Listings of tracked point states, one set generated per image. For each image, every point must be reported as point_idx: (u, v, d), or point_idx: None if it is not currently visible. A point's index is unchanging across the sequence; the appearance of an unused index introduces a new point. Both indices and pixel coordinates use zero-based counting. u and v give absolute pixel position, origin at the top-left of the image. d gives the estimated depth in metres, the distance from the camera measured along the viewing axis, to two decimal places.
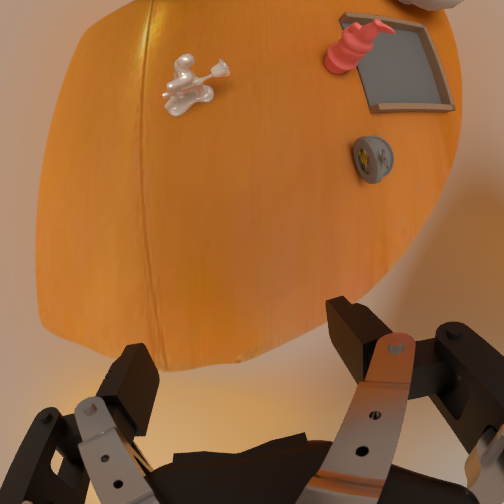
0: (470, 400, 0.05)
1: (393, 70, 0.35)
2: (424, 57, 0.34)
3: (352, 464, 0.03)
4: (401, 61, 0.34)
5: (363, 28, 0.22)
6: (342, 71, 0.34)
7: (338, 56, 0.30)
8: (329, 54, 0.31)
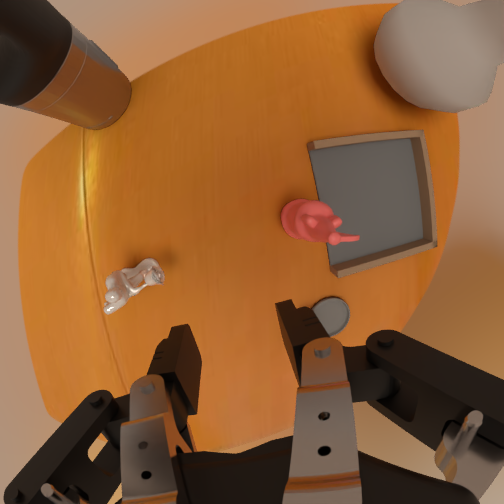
0: (421, 402, 0.05)
1: (368, 209, 0.37)
2: (413, 176, 0.36)
3: (319, 464, 0.04)
4: (381, 192, 0.37)
5: (316, 233, 0.25)
6: None
7: (292, 231, 0.32)
8: (283, 222, 0.33)
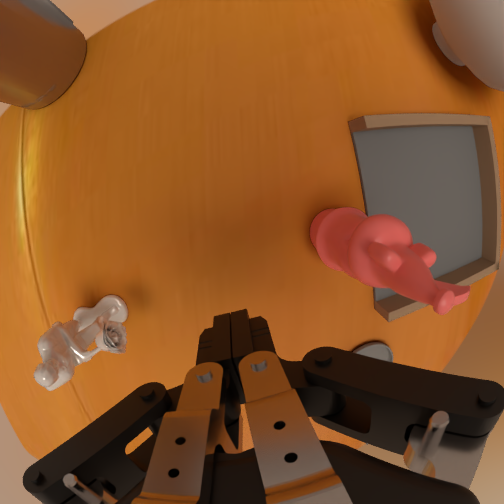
0: (375, 413, 0.06)
1: (427, 221, 0.24)
2: (476, 176, 0.23)
3: (291, 471, 0.04)
4: (443, 197, 0.23)
5: (402, 284, 0.12)
6: None
7: (334, 261, 0.19)
8: (318, 245, 0.20)
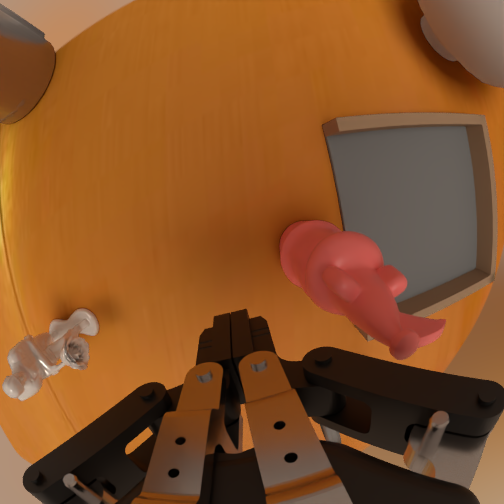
0: (375, 413, 0.06)
1: (414, 231, 0.22)
2: (470, 181, 0.22)
3: (291, 471, 0.04)
4: (432, 205, 0.22)
5: (358, 318, 0.10)
6: None
7: None
8: (283, 263, 0.19)
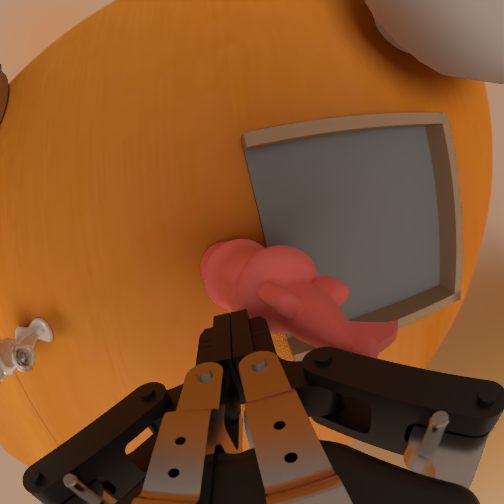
0: (375, 413, 0.06)
1: (354, 248, 0.22)
2: (431, 188, 0.22)
3: (291, 471, 0.04)
4: (378, 218, 0.22)
5: (306, 333, 0.10)
6: None
7: None
8: (207, 286, 0.17)
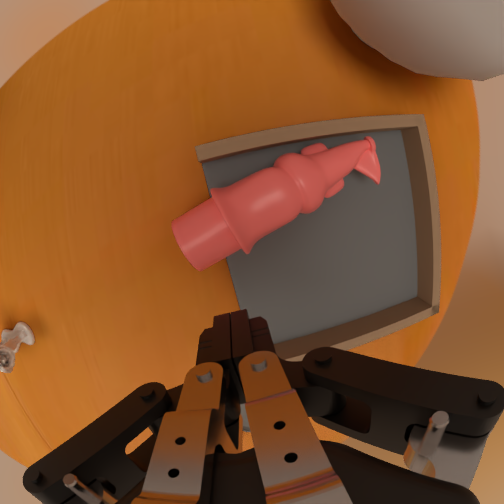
0: (375, 413, 0.06)
1: (319, 260, 0.22)
2: (406, 196, 0.21)
3: (291, 471, 0.04)
4: (345, 228, 0.22)
5: (339, 145, 0.18)
6: (204, 248, 0.17)
7: (240, 188, 0.17)
8: (215, 188, 0.17)
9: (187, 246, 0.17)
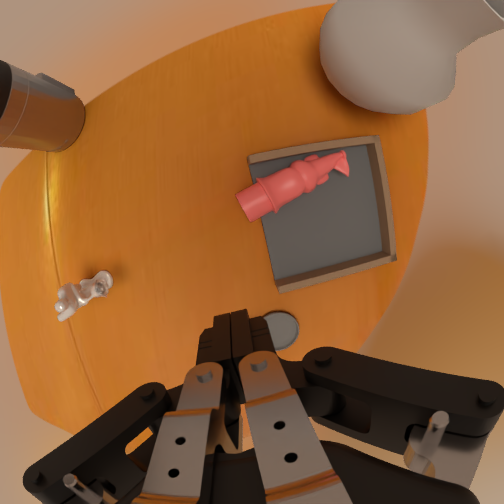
0: (375, 413, 0.06)
1: (315, 222, 0.37)
2: (369, 185, 0.37)
3: (291, 471, 0.04)
4: (330, 204, 0.37)
5: None
6: (254, 207, 0.32)
7: (273, 177, 0.32)
8: (259, 178, 0.33)
9: (245, 206, 0.32)
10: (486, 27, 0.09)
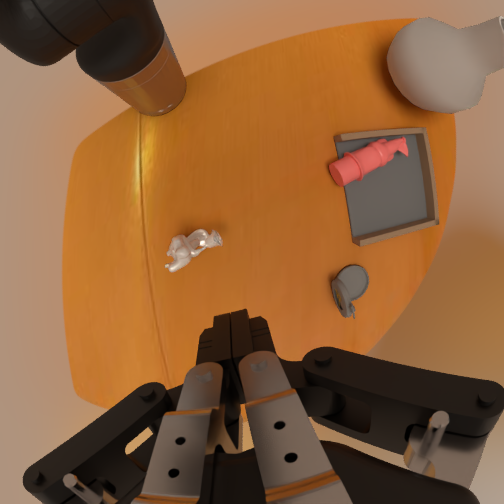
0: (375, 413, 0.06)
1: (382, 191, 0.44)
2: (418, 165, 0.43)
3: (290, 471, 0.04)
4: (392, 178, 0.43)
5: None
6: (349, 174, 0.38)
7: (359, 152, 0.38)
8: (348, 152, 0.39)
9: (342, 172, 0.38)
10: None
